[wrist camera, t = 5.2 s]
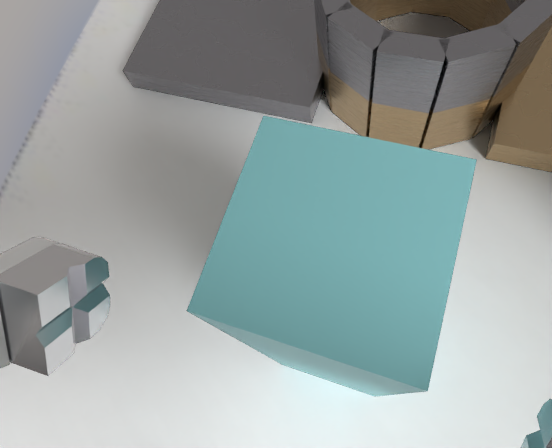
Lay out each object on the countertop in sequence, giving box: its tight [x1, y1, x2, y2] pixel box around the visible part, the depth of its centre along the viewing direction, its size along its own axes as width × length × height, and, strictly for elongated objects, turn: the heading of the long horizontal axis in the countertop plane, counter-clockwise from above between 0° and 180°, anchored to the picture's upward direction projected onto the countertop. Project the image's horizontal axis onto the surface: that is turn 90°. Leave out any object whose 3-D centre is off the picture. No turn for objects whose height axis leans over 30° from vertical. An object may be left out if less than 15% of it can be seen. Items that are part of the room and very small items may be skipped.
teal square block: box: [187, 116, 477, 396], centre depth 15 cm, size 4×4×14 cm
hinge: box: [123, 0, 552, 172], centre depth 23 cm, size 34×11×7 cm, turn 72°
